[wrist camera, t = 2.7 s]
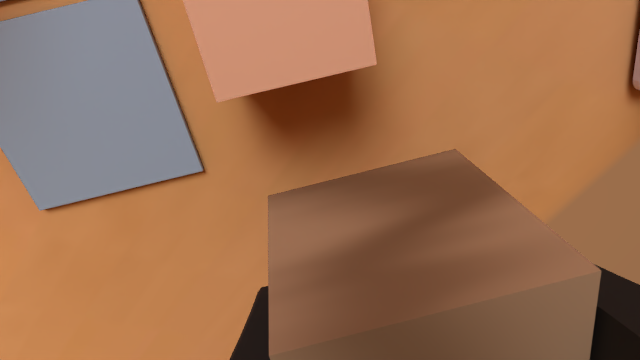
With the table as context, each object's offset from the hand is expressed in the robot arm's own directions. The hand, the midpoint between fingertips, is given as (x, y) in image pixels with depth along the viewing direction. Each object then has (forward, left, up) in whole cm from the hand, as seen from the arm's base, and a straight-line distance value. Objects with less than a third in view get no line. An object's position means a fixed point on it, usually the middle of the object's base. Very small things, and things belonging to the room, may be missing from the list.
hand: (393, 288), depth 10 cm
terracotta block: (+1, -7, -6) cm, 9 cm away
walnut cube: (0, 0, -2) cm, 2 cm away
